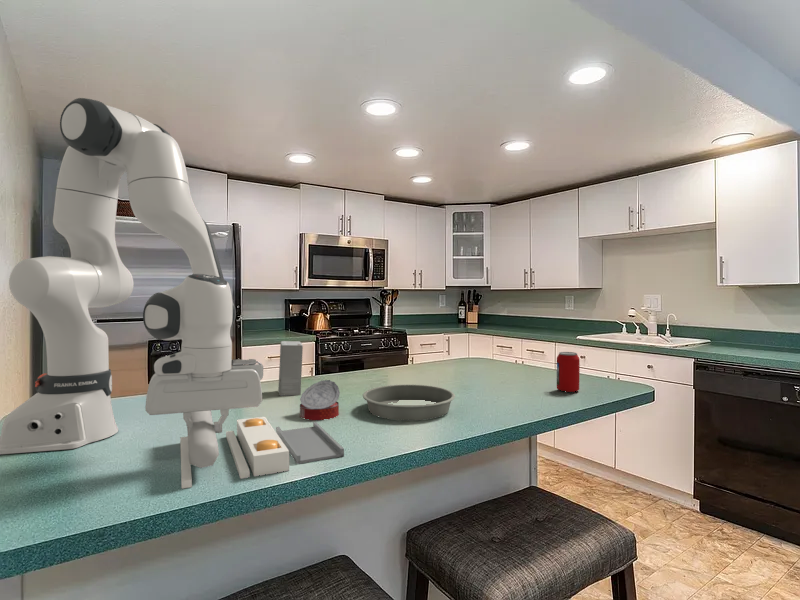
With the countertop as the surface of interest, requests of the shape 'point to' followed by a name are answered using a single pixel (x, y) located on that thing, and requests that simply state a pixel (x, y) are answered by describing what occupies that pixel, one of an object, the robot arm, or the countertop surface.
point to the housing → (248, 439)
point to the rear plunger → (253, 422)
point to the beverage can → (568, 371)
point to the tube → (202, 440)
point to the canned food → (320, 401)
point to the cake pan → (394, 393)
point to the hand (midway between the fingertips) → (205, 433)
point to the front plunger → (266, 445)
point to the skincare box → (290, 368)
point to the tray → (310, 444)
